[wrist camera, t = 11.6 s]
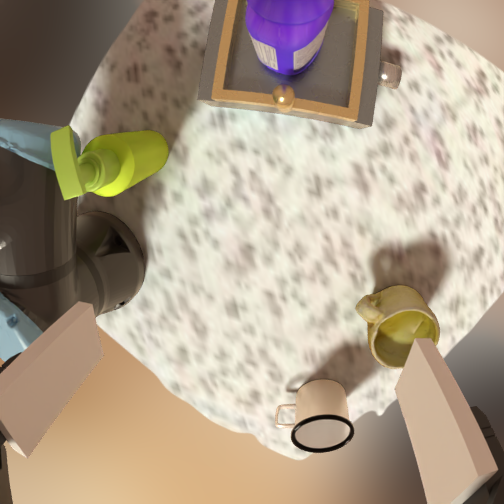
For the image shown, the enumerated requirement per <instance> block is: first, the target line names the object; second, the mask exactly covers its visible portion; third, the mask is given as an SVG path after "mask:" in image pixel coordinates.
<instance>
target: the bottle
mask: <svg viewBox="0 0 504 504" xmlns="http://www.w3.org/2000/svg"><path fill="white" fill-rule="evenodd" d="M247 2H248V4H247V9H246V16H245V20H246V26H247V29H248V32H249V34H250V37H251V39H252V42H253V45H254V48H255V50H256V53H257V56H258V59H259V60H260V61H261V62H262V63H263V64H264V65H265V66H267V67H268V68H269V69H271V70H273V71H275V72H278V73H282V74H284V75H296V74H299V73H301V72H302V71H304V70H305V69H306V68H307V67H308V66H309V65H310V64H311V63H312V62H313V60H314V59H315V57H316V56H317V54H318V52H319V50H320V48H321V46H322V44H323V40H324V35H325V31H326V28H327V24H328V21H329V18H330V16H331V13H332V10H333V6H334V0H247Z"/></svg>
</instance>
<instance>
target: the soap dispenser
mask: <svg viewBox="0 0 504 504" xmlns="http://www.w3.org/2000/svg"><path fill="white" fill-rule="evenodd" d="M51 151H52V158H53V164H54V168H55V172H56V176H57V179H58V182H59V186H60V189H61V192H62V195H63V198H64V200H68V199H71V198H74V197H77V196H80V195H83V194H85V193H87V192H93V193H95V194H97V195H100V196H104V197H111V196H115V195H117V194H119V193H121V192H123V191H125V190H126V189H128V188H130V187H131V186H133V185H135V184H136V183H138V182H140V181H142V180H143V179H145V178H147V177H149V176H150V175H152V174H154V173H156V172H158V171H159V170H160V169H161V168H162V167H163V166H164V165H165V163H166V161H167V158H168V145H167V142H166V140H165V138H164V137H163V136H162V135H161V134H159V133H158V132H156V131H152V130H145V131H134V132H124V133H115V134H107V135H101V136H98V137H96V138H94V139H93V140H91V141H90V142H89V143H88V144H87V146H86V147H85V149H84V150H83V152H82V155H80V156H79V157H78V158H77V156H76V151H75V146H74V139H73V130H72V128H71V127H70V126H69V125H68V126H65V127H63V128H61V129H59V130H56V131H54V132H52V133H51Z"/></svg>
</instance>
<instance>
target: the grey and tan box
mask: <svg viewBox="0 0 504 504" xmlns="http://www.w3.org/2000/svg"><path fill="white" fill-rule="evenodd" d="M247 4H248V2H247V0H215V4H214V8H213V13H212V18H211V23H210V28H209V33H208V39H207V44H206V50H205V55H204V61H203V67H202V73H201V80H200V86H199V93H198V99H197V100H199V101H201V102H203V103H206V104H208V105H210V106H215V107H226V108H237V109H246V110H255V111H263V112H270V113H277V114H284V115H290V116H297V117H302V118H308V119H314V120H319V121H324V122H329V123H334V124H339V125H344V126H348V127H353V128H357V129H362V128H367V127H371V126H372V122H373V115H374V108H375V100H376V92H377V84H378V85H381V86H385V87H389V88H392V89H397V88H398V86H399V84H400V80H401V74H402V71H401V67H400V66H398V65H395V64H392V63H388V62H385V61H381V60H380V53H381V41H382V26H383V11H381V10H378V9H374V8H371V7H369V0H334V6H333V10H332V13H331V16H330V18H329V21H328V24H327V28H326V31H325V35H324V40H323V44H322V46H321V48H320V50H319V52H318V54H317V56H316V57H315V59H314V60H313V62H312V63H311V64H310V65H309V66H308V67H307V68H306V69H305V70H304V71H302V72H301V73H299V74H296V75H284V74H282V73H278V72H275V71H273V70H271V69H269V68H268V67H267V66H265V65H264V64H263V63H262V62H261V61H260V60H259V59H258V56H257V53H256V50H255V48H254V45H253V42H252V39H251V37H250V34H249V32H248V29H247V26H246V20H245V16H246V9H247Z"/></svg>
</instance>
